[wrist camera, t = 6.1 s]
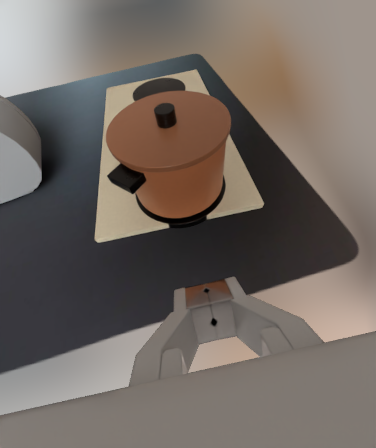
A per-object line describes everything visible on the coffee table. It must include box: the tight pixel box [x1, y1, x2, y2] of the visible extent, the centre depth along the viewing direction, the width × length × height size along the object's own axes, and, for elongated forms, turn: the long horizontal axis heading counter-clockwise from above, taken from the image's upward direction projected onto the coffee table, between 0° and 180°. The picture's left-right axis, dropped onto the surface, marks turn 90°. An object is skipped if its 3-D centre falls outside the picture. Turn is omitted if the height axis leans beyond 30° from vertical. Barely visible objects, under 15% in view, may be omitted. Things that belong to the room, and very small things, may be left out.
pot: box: [106, 91, 231, 218], centre depth 22 cm, size 16×13×11 cm
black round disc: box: [135, 175, 226, 228], centre depth 27 cm, size 13×13×1 cm
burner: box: [133, 78, 186, 101], centre depth 41 cm, size 12×12×1 cm
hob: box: [95, 70, 264, 243], centre depth 34 cm, size 22×41×1 cm, turn 11°
